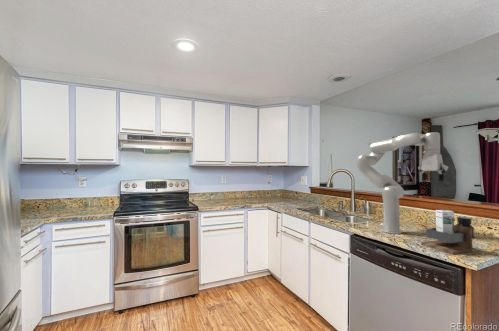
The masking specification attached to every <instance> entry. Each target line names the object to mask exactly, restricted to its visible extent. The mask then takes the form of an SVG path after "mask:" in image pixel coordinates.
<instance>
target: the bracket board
mask: <svg viewBox="0 0 499 331" xmlns="http://www.w3.org/2000/svg"><path fill="white" fill-rule="evenodd" d="M454 230H457V231H461V232H466V241H464V242H455V243H448V242H444V241H441V240H437V239H434V240H429V241H421V243H420V245H421V246H424V247H427V248H431V249H434V250H437V251H441V252H443V253H447V254H450V255H459V254H465V253H472V252H473V238H472V228H467V227H462V226H457V225H456V224H454Z"/></svg>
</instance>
